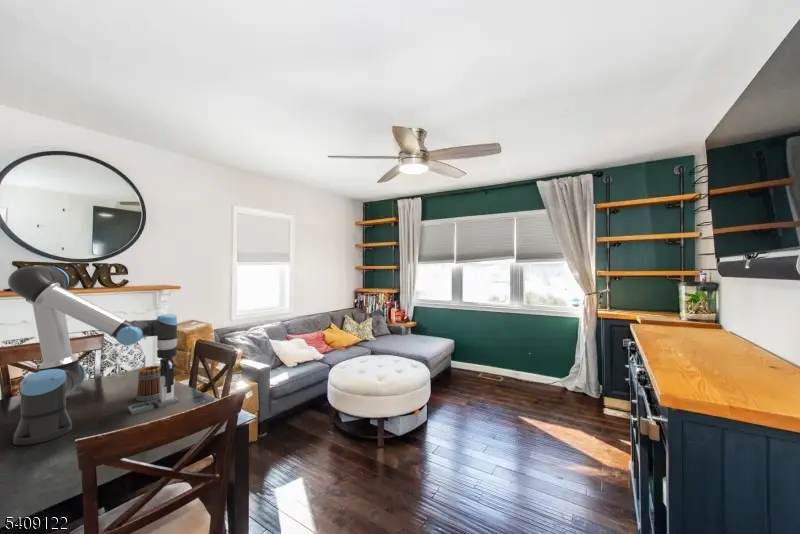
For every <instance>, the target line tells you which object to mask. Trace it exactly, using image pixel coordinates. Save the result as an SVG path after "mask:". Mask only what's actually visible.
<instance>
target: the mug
mask: <svg viewBox="0 0 800 534" xmlns="http://www.w3.org/2000/svg"><path fill="white" fill-rule="evenodd" d="M137 379H138V381H137V382H138V383H137V392H136V398H135V399H136V401H138V402H147V401H155V399H159V398H160V363H159V364H158V365H150V366H144V367H142V368H140V369H139V372H138V378H137Z"/></svg>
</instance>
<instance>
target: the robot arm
mask: <svg viewBox="0 0 800 534" xmlns="http://www.w3.org/2000/svg"><path fill="white" fill-rule="evenodd" d="M7 284H8V287H9V288H10V290H11V291H12V292H13V293H14V294H16V295H17V296H19V297H20V298H21V297H22V299H23V298H24V299H25V302H26V303H28V304H31V305H32V308H33V314H34V319H35V324H36V330H37V335H38V341H39V347H40V351H41V357H42V363H41V364H40V365H39V366H38V371H37V372H33V373H31V374H27V376H25V377H24V378H23V379H22V381H21V383H20V388H19V391H20V421H19V423H18V426H17V427H16V430H15V432H14V434H13V439H12V440H13V441H12V442H13V444H14V445H15V446H16V445H17V446H28V445H29V446H30V445H35V444H39V443H40V444H41V443H44V442H48V441H51V440H54V439H57V438H59V437H62V436H63V435H65V434H67V433H69V432H70V431H71V430H72V429H73V422H72V419H71V417H70V415H69V414H68V411H67V410H66V405H67V404H66V403H67V400H66V399H67V398H66V397H67V395H69V394H71V393H72V392H73V391H75V390H76V389H77V388H79V386H81V384H82V383H83V382H84V381H85V379H86V375H87V373H86V368H85V367H84V366H83V365H82V364H80V359H79V358H78V357H76V356H74V355H73V350H72V344H71V339H70V333H69V328H68V322H67V316H68V317H71V318H73V319H75V320H78V321H80V322H81V323H84V324H86V325H89V326H90V327H93V328H94V329H96V330H99V331H100V332H103V333H104V334H107V335H109V336H112V337H113V338H115V339H116V340H117V342H118V343H119V345H122V346H131V345H134V344H137V343H138V342H140V341H141V340H142V339H144V338H149V337H156V357H157V358H158V359H160V360H159V361H160V362H159V364H160V377H161V376H165V385H164V387H165V400H169V399H172V385H173V384H174V379H175V376H174V375H175V363H174V360H173V358H174V357H176V356H177V354H178V347H177V346H178V345H177V344H178V343H177V342H178V341H179V339H178V319H177V318H178V317H177V315H176V314H172V313H170V314H169V313H167V314H160V315H157V318H156V319H147V320H146V319H144V320H143V319H141V320H127V319H125V318H123V317H121V316H119V315H117V314H115V313H114V312H111V311H110V310H107V309H105V308H103V307H101V306H99V305H97V304H95V303H93V302H91V301H89V300H87V299H85V298H83V297H81V296H79V295H77V294H76V293H73V292H71V291H69V290H67V287H68V286H69V284H70V277H69V275H68V273H67V272H65V271H64V270H63V269H61V268H59V267H57V266H52V265H41V266H40V265H39V266H38V265H37V266H36V265H35V266H34V265H30V266H23V267H21V268H18V269H16V270H14V271H13V272H12V273H11V274H10V275H9V276H8V279H7ZM66 315H67V316H66ZM174 385H175V384H174Z"/></svg>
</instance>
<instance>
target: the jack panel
mask: <svg viewBox="0 0 800 534" xmlns="http://www.w3.org/2000/svg"><path fill="white" fill-rule="evenodd" d="M178 403H180V398H178V397H177V396H176V395H175V394H174V400H172V401H168V402H164V403H160V398H157V399H154V404H155V405H156V406H157V407H158V408H163V407H167V406H170V405H174V404H178ZM154 404H153V403H152V401H151V400H149V401H142V402H140V403H136V404H132V405H128V408H127V409H128V411H129V413H130V415H135V414H139V413H143V412H148V411H150V410H154V409H155V405H154Z"/></svg>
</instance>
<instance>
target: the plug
mask: <svg viewBox="0 0 800 534" xmlns="http://www.w3.org/2000/svg"><path fill="white" fill-rule="evenodd" d="M164 385H165V376H161V377H160V403H164V402H168V401H172V400H174V395H175V385H176V380H175V378H174V384H173V385H172V399H169V400H165V387H164Z"/></svg>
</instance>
